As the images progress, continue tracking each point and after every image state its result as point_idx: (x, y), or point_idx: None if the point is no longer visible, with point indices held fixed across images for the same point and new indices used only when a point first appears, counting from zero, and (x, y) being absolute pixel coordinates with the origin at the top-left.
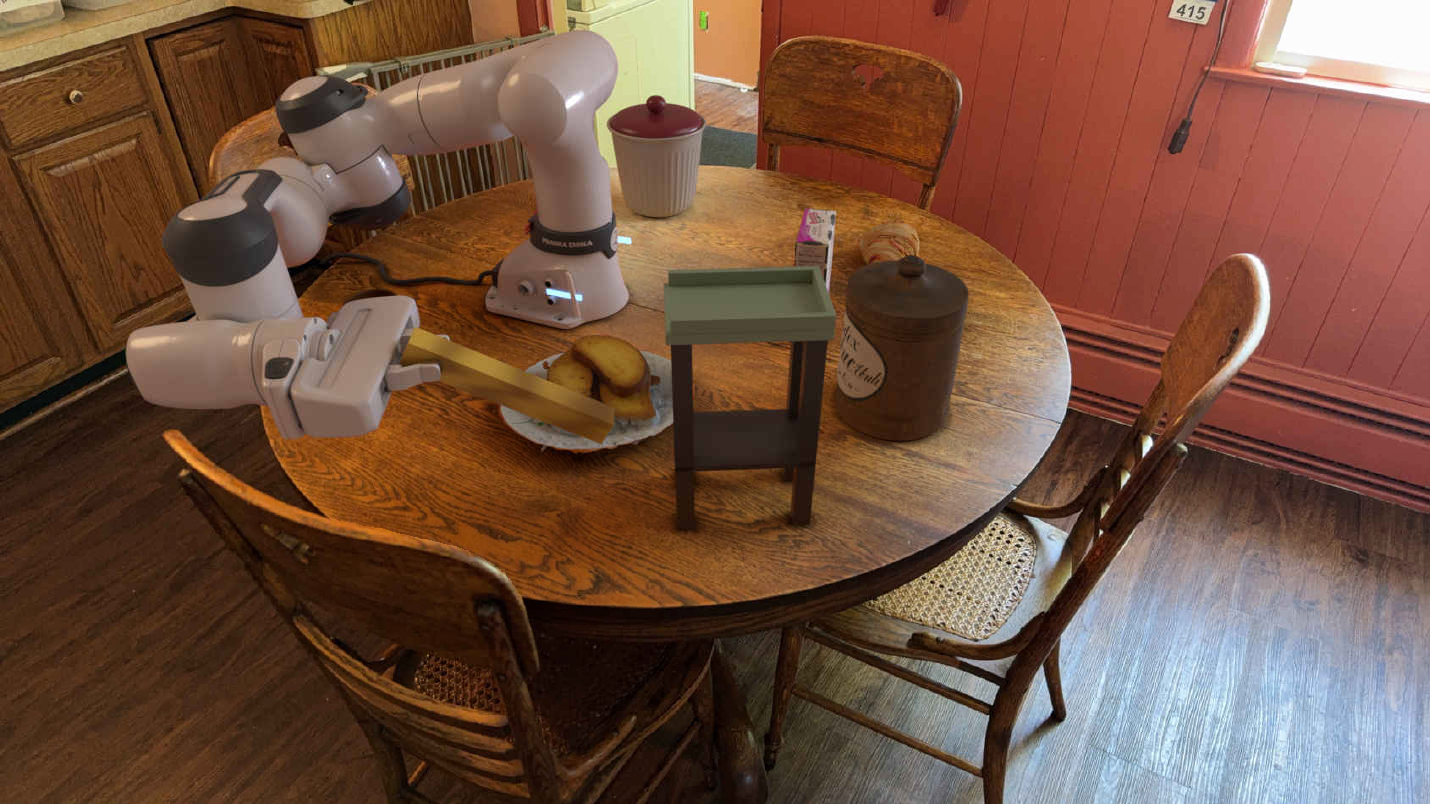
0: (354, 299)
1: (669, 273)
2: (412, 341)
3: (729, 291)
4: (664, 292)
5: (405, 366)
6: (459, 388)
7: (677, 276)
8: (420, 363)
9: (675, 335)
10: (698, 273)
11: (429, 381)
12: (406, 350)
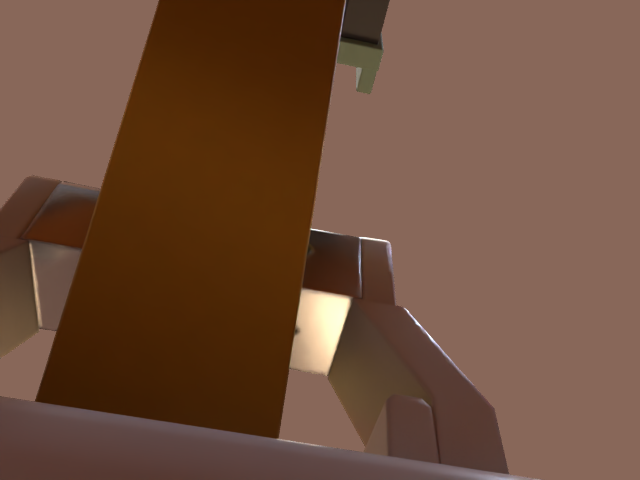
0: None
1: (357, 90)
2: None
3: None
4: (341, 63)
5: (39, 397)
6: (149, 38)
7: (357, 78)
8: (40, 328)
9: None
10: (356, 67)
11: (6, 205)
12: None
